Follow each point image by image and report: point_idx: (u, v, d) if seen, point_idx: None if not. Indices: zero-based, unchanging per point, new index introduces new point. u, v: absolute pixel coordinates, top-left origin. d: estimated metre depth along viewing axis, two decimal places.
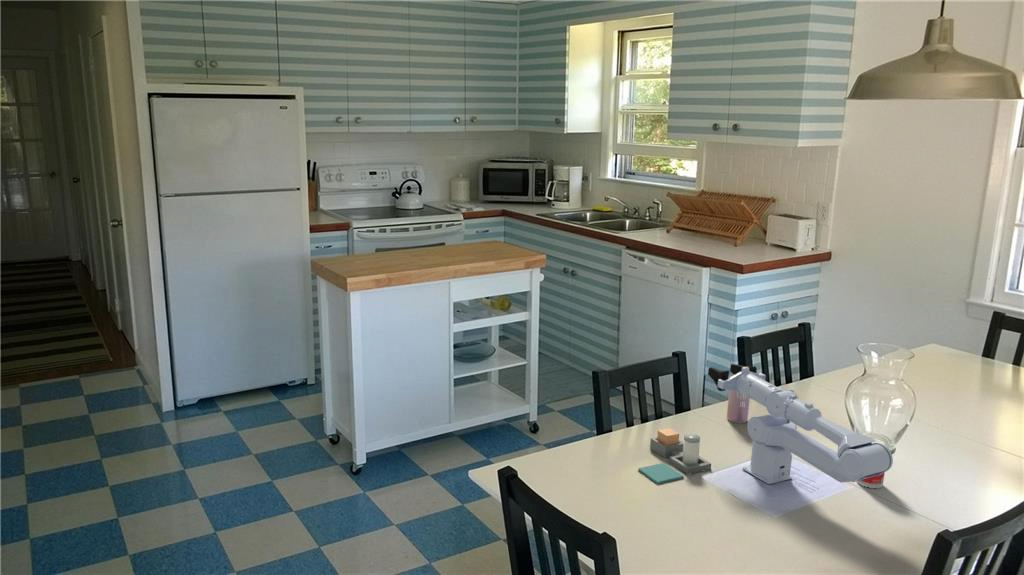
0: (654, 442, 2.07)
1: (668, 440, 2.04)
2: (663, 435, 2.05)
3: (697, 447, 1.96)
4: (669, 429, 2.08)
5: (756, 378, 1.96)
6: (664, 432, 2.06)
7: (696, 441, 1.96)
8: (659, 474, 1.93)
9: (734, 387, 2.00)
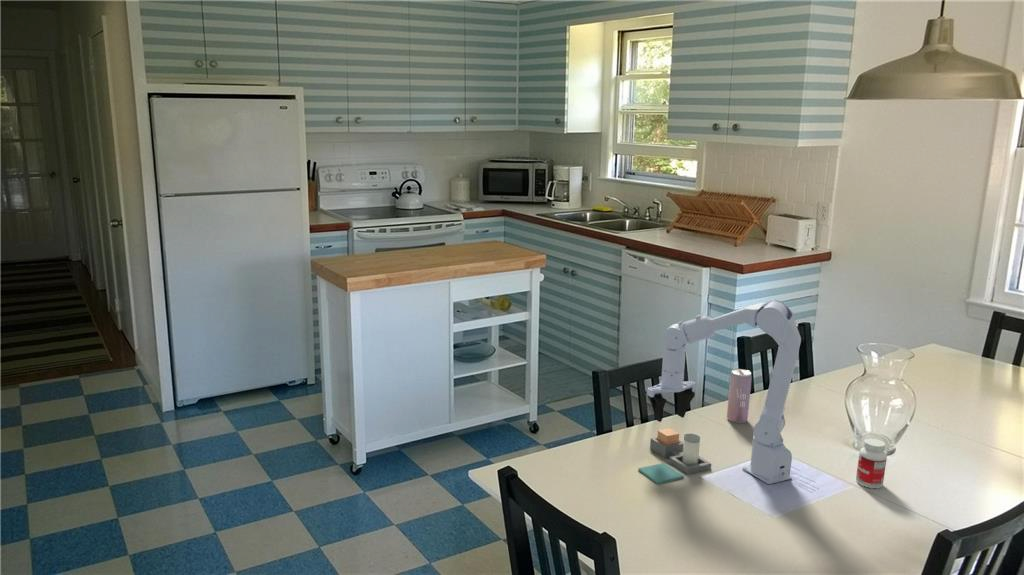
0: (654, 442, 2.07)
1: (668, 440, 2.04)
2: (663, 435, 2.05)
3: (697, 447, 1.96)
4: (669, 429, 2.08)
5: None
6: (664, 432, 2.06)
7: (696, 441, 1.96)
8: (659, 474, 1.93)
9: (665, 389, 2.01)
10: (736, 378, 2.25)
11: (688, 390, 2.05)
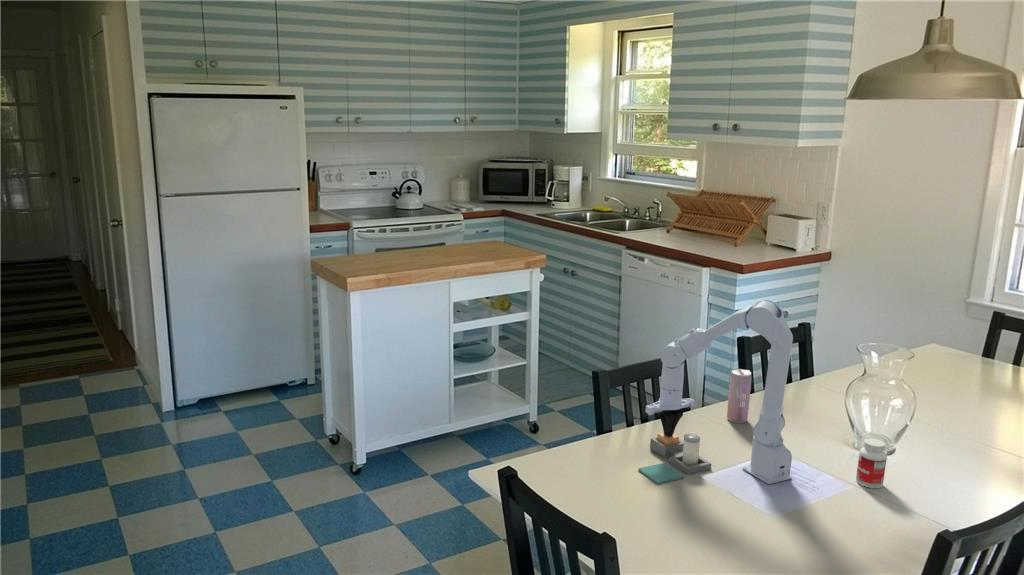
0: (654, 442, 2.07)
1: (668, 443, 2.04)
2: (663, 438, 2.05)
3: (697, 447, 1.96)
4: None
5: None
6: (664, 435, 2.06)
7: (696, 441, 1.96)
8: (659, 474, 1.93)
9: (664, 407, 2.02)
10: (736, 378, 2.25)
11: None
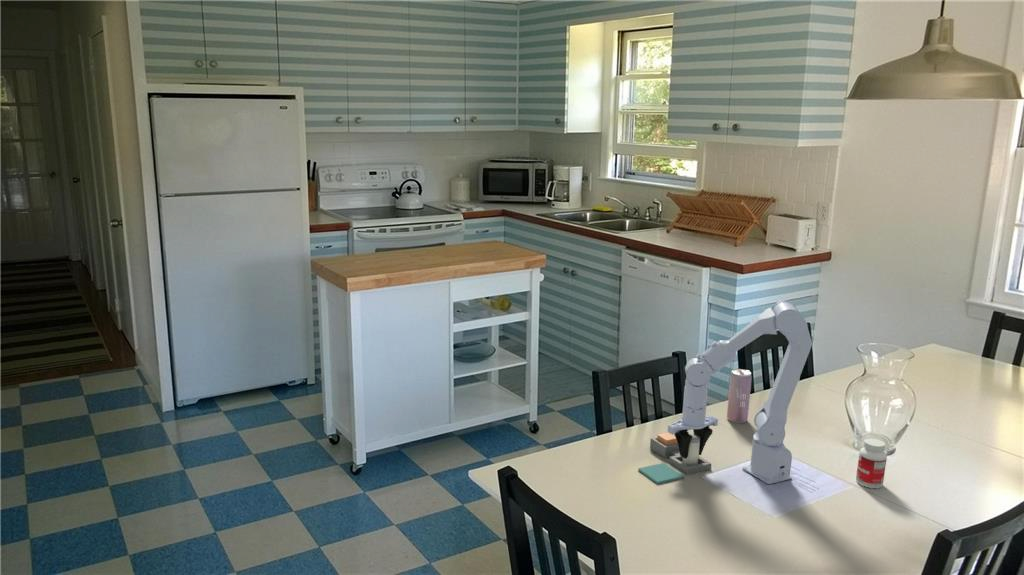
0: (654, 442, 2.07)
1: (667, 444, 2.04)
2: (663, 439, 2.05)
3: (697, 447, 1.96)
4: (669, 433, 2.08)
5: None
6: (664, 436, 2.06)
7: (696, 441, 1.96)
8: (659, 474, 1.93)
9: (687, 426, 1.94)
10: (736, 378, 2.25)
11: None
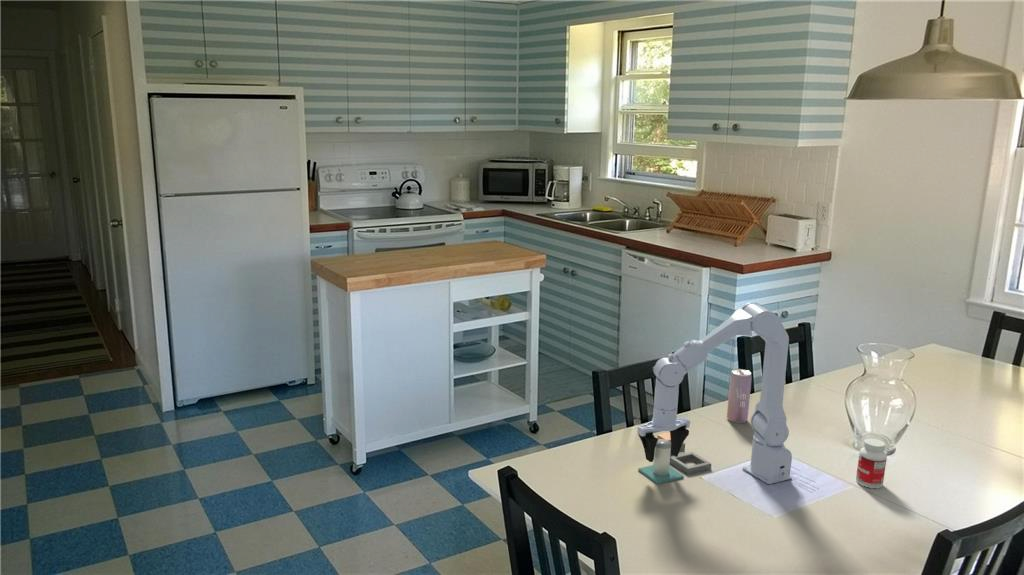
0: None
1: None
2: None
3: (668, 453, 1.91)
4: (669, 433, 2.08)
5: None
6: (664, 436, 2.06)
7: (667, 447, 1.90)
8: None
9: (657, 427, 1.89)
10: (736, 378, 2.25)
11: (682, 428, 1.93)
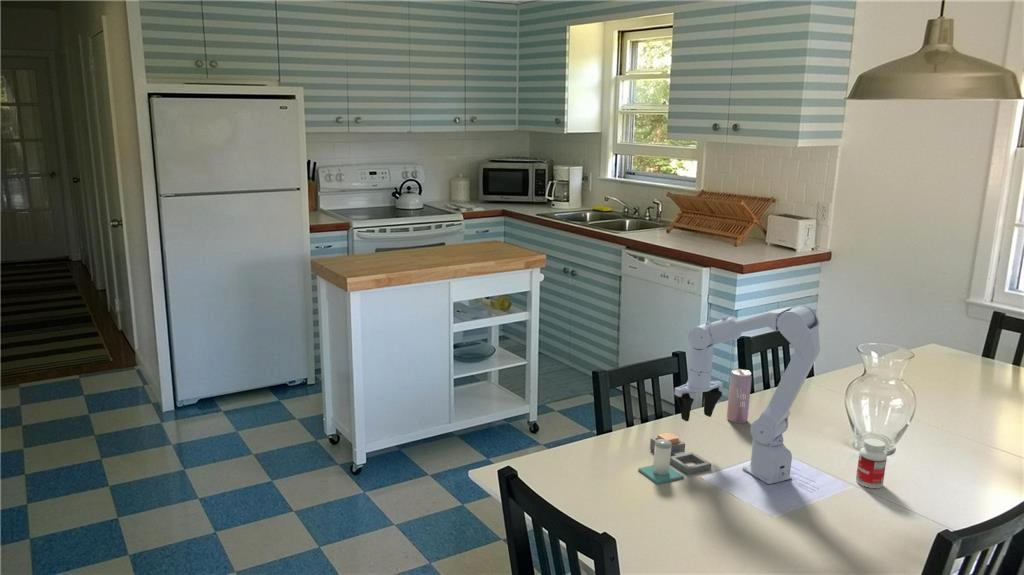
0: (654, 442, 2.07)
1: None
2: None
3: (668, 453, 1.91)
4: (669, 433, 2.08)
5: None
6: (664, 436, 2.06)
7: (667, 447, 1.90)
8: None
9: (693, 389, 2.02)
10: (736, 378, 2.25)
11: (715, 390, 2.06)
